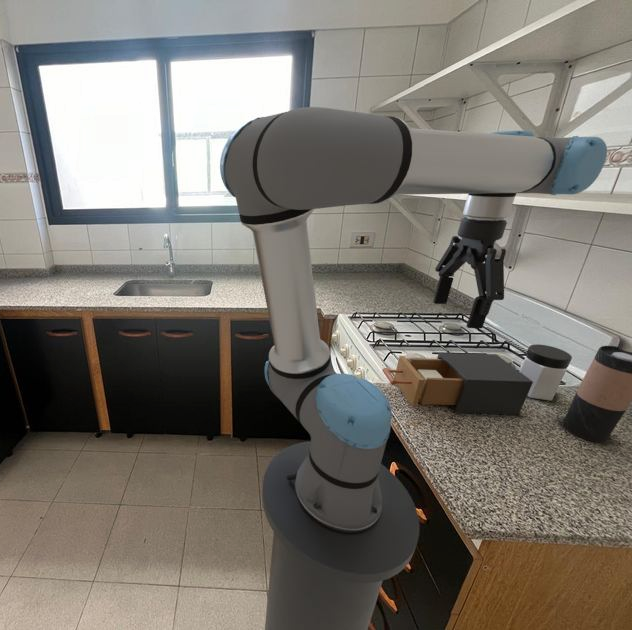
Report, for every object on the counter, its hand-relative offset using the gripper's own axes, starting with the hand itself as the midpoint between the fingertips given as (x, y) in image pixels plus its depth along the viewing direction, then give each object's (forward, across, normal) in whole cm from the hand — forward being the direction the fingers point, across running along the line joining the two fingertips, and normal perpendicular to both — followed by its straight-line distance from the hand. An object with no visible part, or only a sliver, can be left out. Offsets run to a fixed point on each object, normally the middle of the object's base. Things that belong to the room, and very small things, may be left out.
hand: (455, 314), depth 78 cm
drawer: (+24, +3, +1) cm, 24 cm away
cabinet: (+25, +3, -12) cm, 28 cm away
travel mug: (+25, -8, -30) cm, 40 cm away
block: (+23, +3, 0) cm, 23 cm away
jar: (+25, +7, -30) cm, 40 cm away
